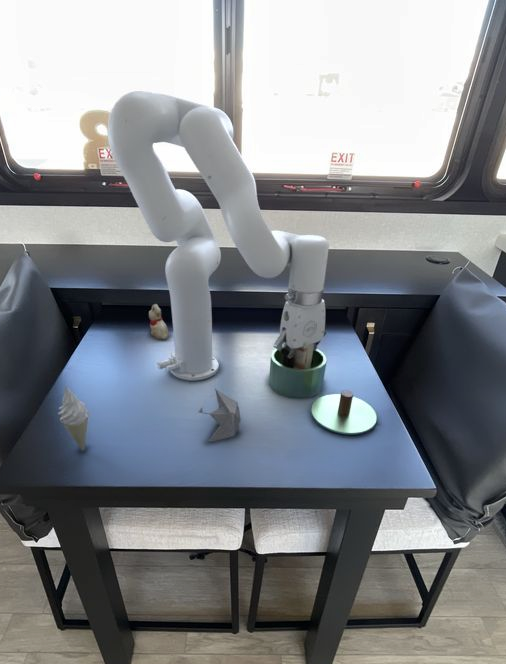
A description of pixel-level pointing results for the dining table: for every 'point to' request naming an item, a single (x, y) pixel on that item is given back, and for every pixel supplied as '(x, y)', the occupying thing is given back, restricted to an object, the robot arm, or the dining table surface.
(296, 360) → the small beige carton
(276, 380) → the tin
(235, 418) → the gray faceted winged figurine
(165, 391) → the dining table surface
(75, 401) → the ice cream cone
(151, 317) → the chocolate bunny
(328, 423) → the lid
